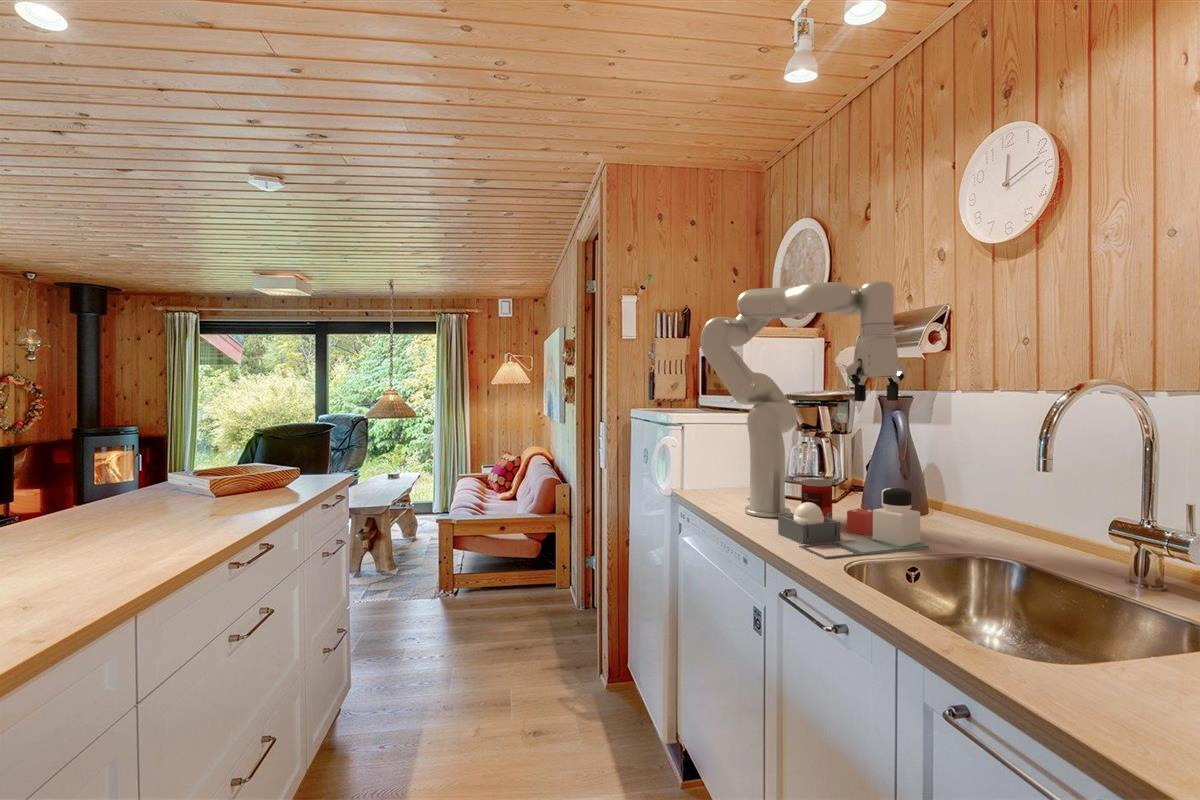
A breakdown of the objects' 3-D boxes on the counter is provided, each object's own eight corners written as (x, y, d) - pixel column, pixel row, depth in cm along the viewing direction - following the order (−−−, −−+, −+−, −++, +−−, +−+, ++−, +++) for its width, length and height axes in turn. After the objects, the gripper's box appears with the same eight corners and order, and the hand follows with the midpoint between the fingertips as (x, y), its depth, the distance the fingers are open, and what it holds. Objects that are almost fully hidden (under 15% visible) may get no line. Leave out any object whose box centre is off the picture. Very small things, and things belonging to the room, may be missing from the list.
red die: (847, 531, 143) (847, 508, 142) (858, 527, 146) (858, 506, 145) (866, 535, 139) (866, 512, 138) (877, 531, 141) (877, 509, 141)
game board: (799, 547, 129) (799, 544, 129) (897, 537, 136) (897, 535, 136) (825, 558, 120) (825, 556, 120) (929, 548, 127) (929, 545, 127)
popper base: (778, 533, 140) (778, 515, 140) (813, 530, 143) (813, 512, 143) (803, 544, 131) (803, 525, 131) (840, 541, 133) (840, 522, 133)
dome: (787, 526, 139) (787, 500, 139) (812, 524, 141) (812, 499, 141) (804, 533, 133) (804, 506, 132) (830, 531, 134) (830, 504, 134)
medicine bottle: (920, 542, 129) (921, 489, 129) (901, 547, 126) (902, 493, 125) (891, 535, 135) (891, 485, 135) (872, 540, 132) (872, 488, 132)
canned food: (827, 519, 155) (827, 479, 155) (836, 526, 147) (836, 484, 147) (798, 519, 156) (798, 478, 155) (805, 526, 148) (805, 483, 147)
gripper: (893, 334, 149) (893, 400, 149) (837, 333, 144) (836, 401, 145) (916, 331, 142) (916, 400, 142) (857, 330, 137) (857, 401, 138)
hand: (876, 400), depth 144 cm, fingers open, 9 cm apart
